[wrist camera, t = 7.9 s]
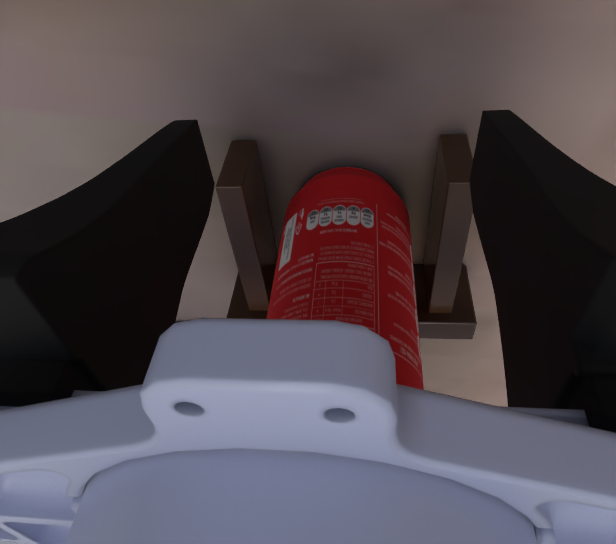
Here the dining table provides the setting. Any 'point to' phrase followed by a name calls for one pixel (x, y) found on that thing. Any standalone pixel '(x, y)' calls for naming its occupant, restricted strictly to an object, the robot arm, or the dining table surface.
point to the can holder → (428, 277)
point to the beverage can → (351, 262)
